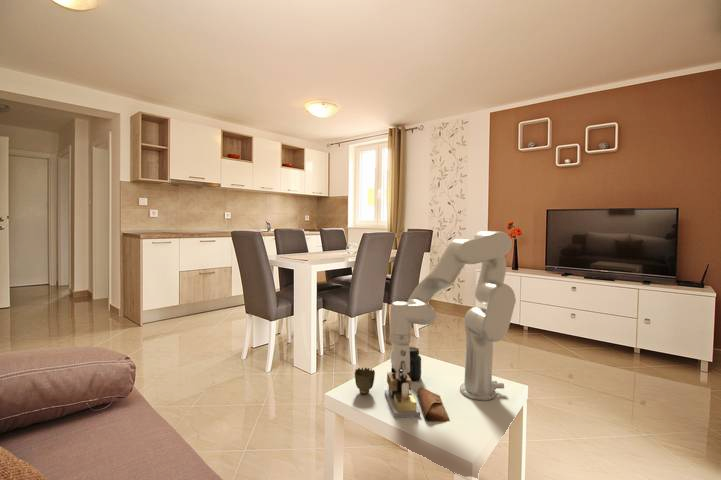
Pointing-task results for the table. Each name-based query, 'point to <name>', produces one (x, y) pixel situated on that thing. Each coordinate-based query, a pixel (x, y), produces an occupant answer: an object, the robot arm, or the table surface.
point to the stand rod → (394, 391)
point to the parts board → (394, 410)
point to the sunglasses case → (432, 406)
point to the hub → (405, 400)
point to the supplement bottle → (414, 364)
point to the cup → (364, 380)
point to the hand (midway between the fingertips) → (398, 384)
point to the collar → (395, 381)
